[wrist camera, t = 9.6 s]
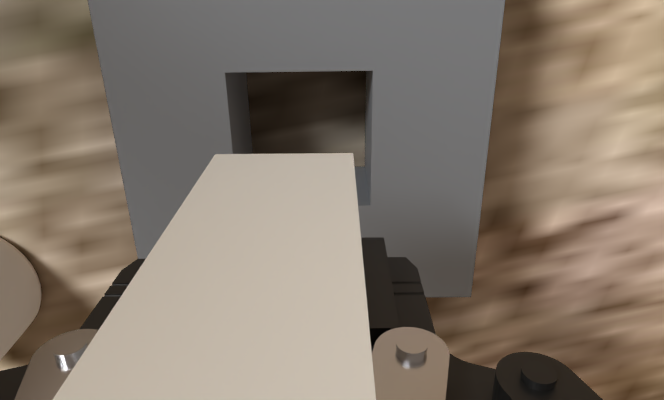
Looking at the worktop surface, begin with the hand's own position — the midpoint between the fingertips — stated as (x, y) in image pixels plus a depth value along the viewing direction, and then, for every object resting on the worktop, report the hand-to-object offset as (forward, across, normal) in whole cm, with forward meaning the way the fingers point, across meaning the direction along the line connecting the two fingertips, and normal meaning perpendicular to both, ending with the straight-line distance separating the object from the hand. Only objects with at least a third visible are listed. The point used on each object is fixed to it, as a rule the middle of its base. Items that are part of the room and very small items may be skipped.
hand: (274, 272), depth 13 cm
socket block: (+15, 0, 0) cm, 15 cm away
